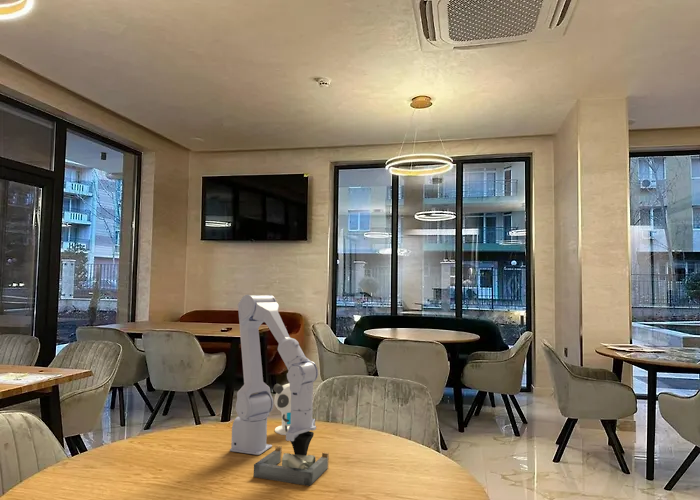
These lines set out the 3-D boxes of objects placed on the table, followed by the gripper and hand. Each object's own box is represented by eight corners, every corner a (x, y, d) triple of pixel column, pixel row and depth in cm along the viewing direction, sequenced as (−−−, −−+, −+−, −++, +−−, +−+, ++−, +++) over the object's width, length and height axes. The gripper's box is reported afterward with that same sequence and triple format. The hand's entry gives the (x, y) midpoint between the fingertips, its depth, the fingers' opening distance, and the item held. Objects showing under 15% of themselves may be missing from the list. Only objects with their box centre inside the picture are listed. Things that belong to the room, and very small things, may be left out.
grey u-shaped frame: (253, 477, 119) (254, 461, 119) (276, 460, 130) (276, 445, 130) (309, 485, 114) (310, 469, 114) (328, 467, 125) (328, 452, 126)
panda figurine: (278, 437, 150) (279, 388, 151) (268, 427, 160) (270, 381, 161) (314, 433, 155) (315, 385, 156) (303, 423, 165) (304, 379, 166)
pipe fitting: (308, 479, 119) (315, 467, 125) (308, 464, 118) (315, 452, 125) (277, 477, 120) (285, 465, 127) (277, 461, 120) (285, 450, 126)
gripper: (304, 416, 120) (303, 473, 119) (325, 403, 134) (324, 454, 133) (278, 414, 122) (277, 469, 121) (302, 401, 136) (301, 451, 135)
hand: (300, 461), depth 127 cm, fingers closed
